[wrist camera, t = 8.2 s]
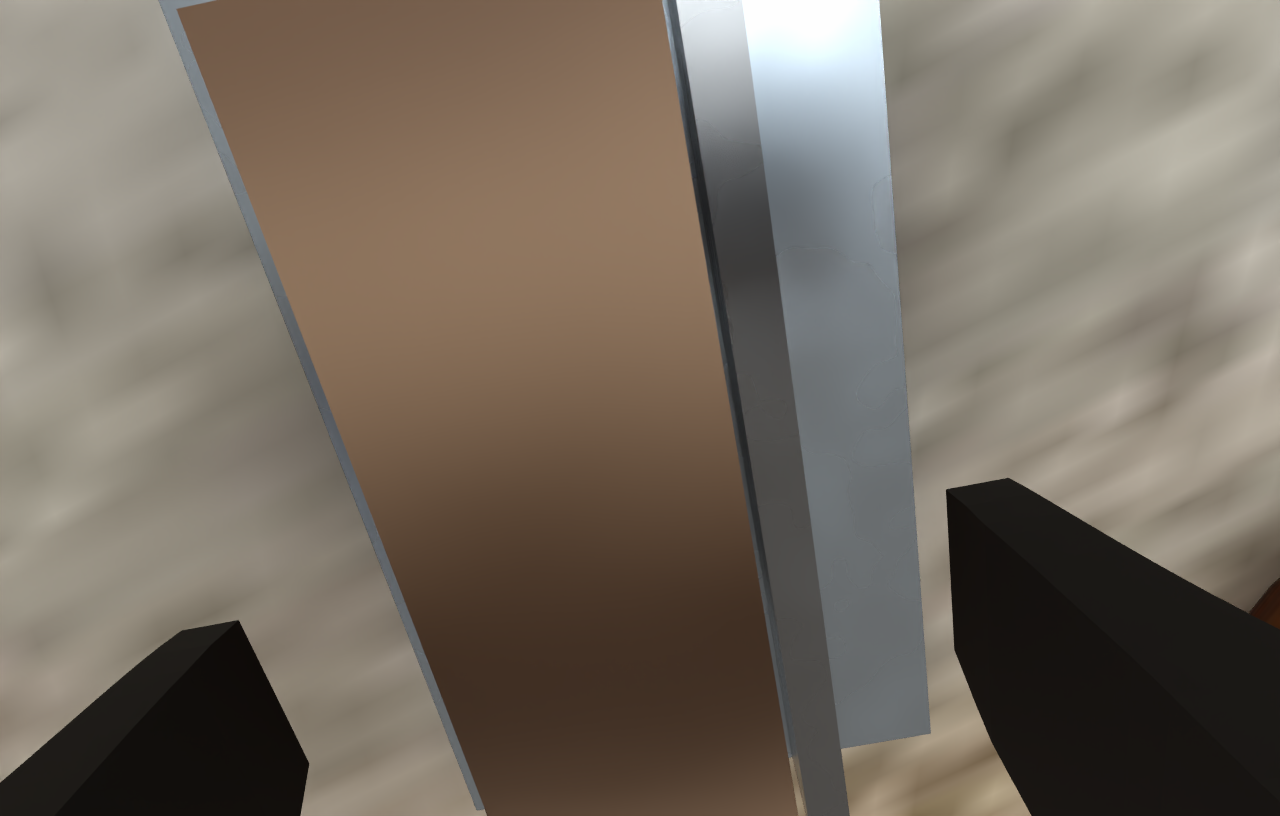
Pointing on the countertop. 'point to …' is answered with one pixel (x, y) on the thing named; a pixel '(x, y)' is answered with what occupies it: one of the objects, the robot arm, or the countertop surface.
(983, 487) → the robot arm
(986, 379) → the countertop surface
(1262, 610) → the food container
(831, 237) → the track
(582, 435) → the door panel
